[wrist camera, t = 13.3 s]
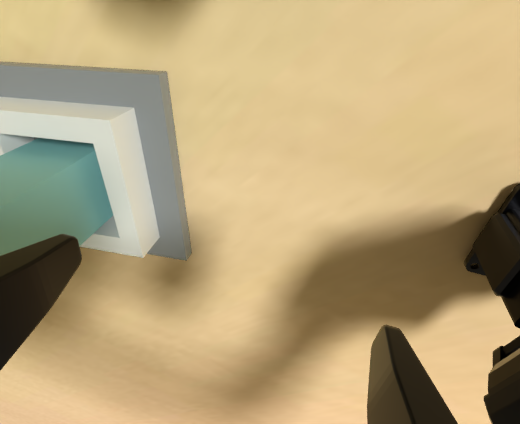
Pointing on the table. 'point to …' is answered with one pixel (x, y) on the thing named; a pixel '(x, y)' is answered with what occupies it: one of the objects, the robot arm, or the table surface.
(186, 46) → the table surface
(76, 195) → the teal rectangular block
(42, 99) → the square socket base
